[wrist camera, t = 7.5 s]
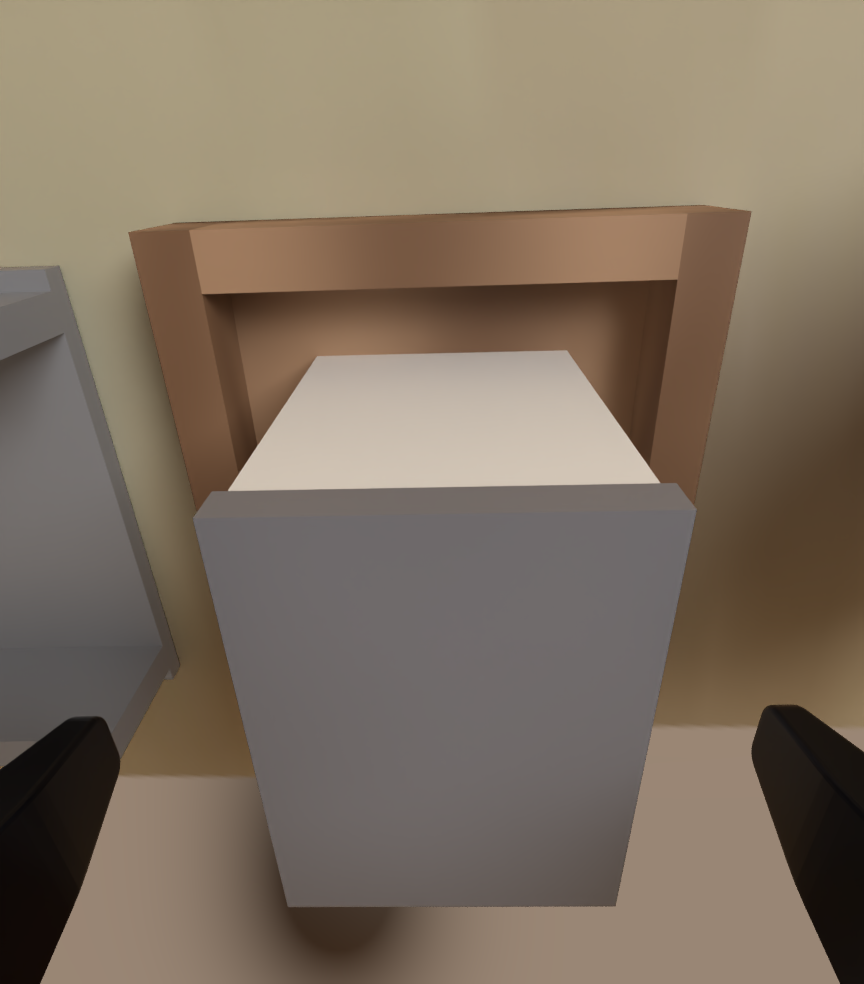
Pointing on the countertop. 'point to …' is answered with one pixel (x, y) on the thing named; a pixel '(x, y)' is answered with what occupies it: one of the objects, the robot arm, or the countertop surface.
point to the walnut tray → (444, 313)
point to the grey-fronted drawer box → (447, 629)
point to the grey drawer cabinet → (66, 536)
